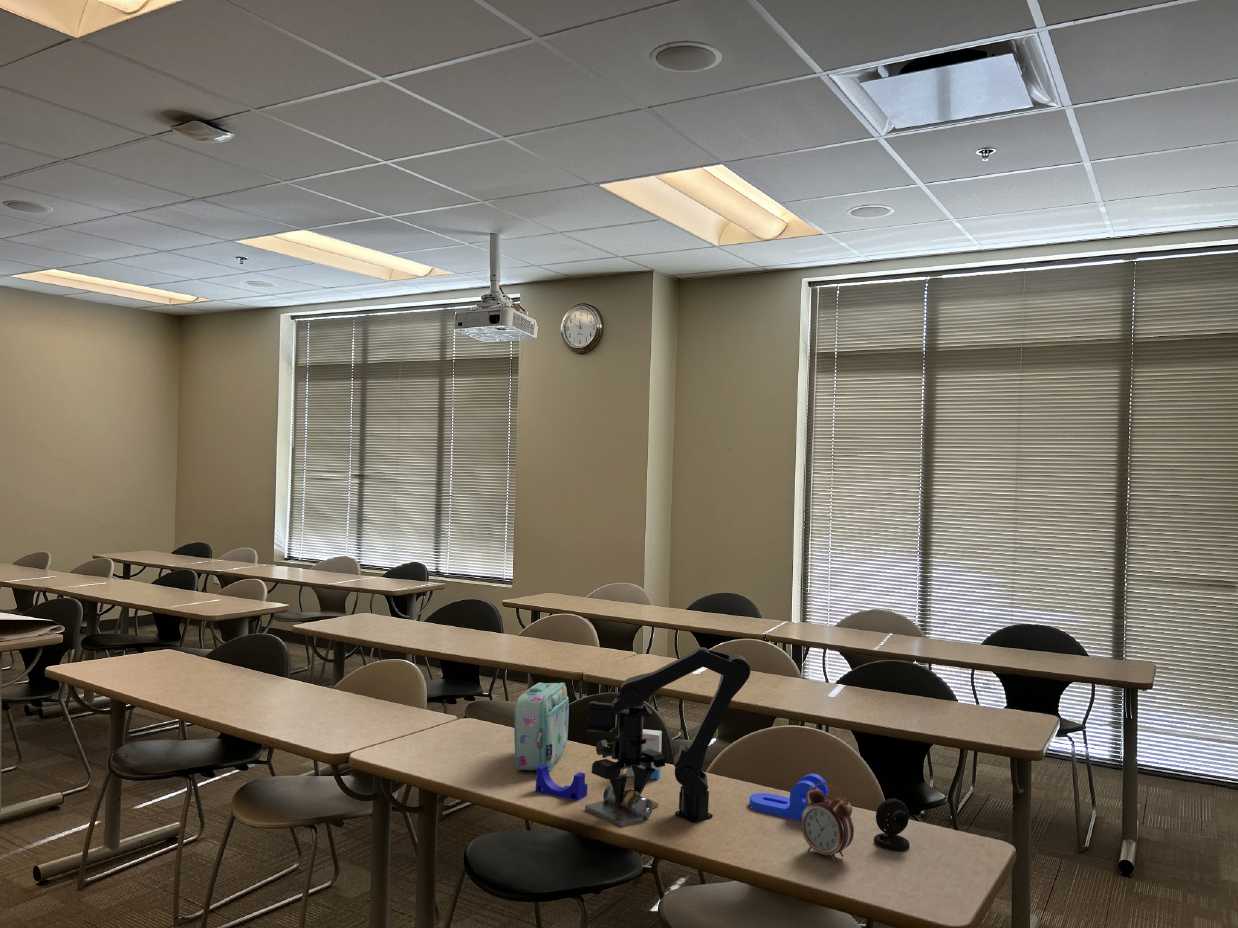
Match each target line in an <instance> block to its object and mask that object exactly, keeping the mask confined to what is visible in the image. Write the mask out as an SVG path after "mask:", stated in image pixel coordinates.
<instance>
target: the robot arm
mask: <svg viewBox="0 0 1238 928" xmlns="http://www.w3.org/2000/svg"><path fill="white" fill-rule="evenodd" d="M702 668H704V669H708V670H710V671H713V672H714V673H717V674H719V675H720V677H719V680H718V681H719V682H718V686H717V689H716V691H715V693H714V695H713V697H712V699H711V701H710V703H709V705H708V707H707V709H706V712H705V713H704V715H703V717H702V719H701V721H700V723H699V725H698V728H697V729H696V732H694V733H695V734H694V735H693V737H692V738H691V740H690V742H688V744H687V745H685V744H684V743H683V742H681V743H680V747H679V750H678V752H677V754H676V755H675V756H674V757H673V766H674V778H675V781H677V782H678V784H680V785H681V786H680V791H679V797H678V799H679V800H678V810H676V811H675V812H674V815H676V816H679V817H681V818H683V819H686V820H687V821H690V822H691V823H696V822H699V821H700V822H701V821H703V820H707V819H709V818H710V819H711V818H713V813H711V812H709V800H710V798H709V797H710V796H709V795H710V791H709V790H708V789H709V785H708V784H709V783H708V775H707V774H706V773H705V772H704V771H703V770H702V769H703V766H704V761H705V757H706V752H707V750H708V747H710V744H711V743H712V740H713V738H714V736H715V734H716V732H717V730H718V728H719V725H720V724H721V721H722V720H723V718H724V716H725V714H726V712H727V709H728V707H729V705H730V703H731V701H732V699H733V698H734V697H735V695H737V693H738V692H739V691H741V689H742V688H743V686H744V685H745V684H746V682H747V681H748V679H749V678H750V676H751V667H750V664H749V661H748V660H747V659H746V657H744V656H743V655H742V654H739V653H733V654H726V653H723V652H720V651H716V650H713V649H712V650H711V649H708V648H706V647H704V646H701V647H698V648H696V649H695V650H694V651H692V652H690V653H687V654H686V655H683V656H682V657H680V658H678V659H676V660H674V661H672V662H670V663H668V664H666V665H664V666H662V667H660V668H657V669H656V670H654V671H651V672H647V673H642V674H637V675H635V676H632V677H629V678H627V679H625V680H624V681H623V683H622V684H621V687H620V691H619V694H618V695H617V696H616V697H615V698H614V699H613V701H612V702H598V701H596V700H595V701H594V700H593V701H590V702H589V705H588V706H589V709H588V715H587V718H586V731H587V732H595V733H596V732H597V733H610V734H611V733H612V731H613V730H614V729H616V728H617V718H618V732H617V733H618V735H616V736H614V737H613V741H612V742H608V741H607V740H606V739H602V740H598V741H596V744H595V745H596V746H595V750H596V754H597V755H598V756H602V759H599V760H596V761H593V762H592V763H591V764H592V766H591V774H592V775H594V776H597V777H600V778H602V779H605V780H609V782H610V785H612V787H613V791H614V794H615V797H616V801H617V803H619V804H620V803H621V802H622V799H623V794H624V789H625V787H626V784H627V780H628V776H625V775H624V770H625V769H626V770H627V768H631V767H632V770H633V772H634V777H633V790H635V791H637V792H639V793H640V795H641V794H642V793H643V791H644V789H645V786H646V785H647V783H648V781H649V780H650V779H649V778H650V777H651V775H652V773H653V772H655V771H656V769H654V768H652V765H651V763H652V762H653V765H654V766H655V767H656V768H659V767H661V768H663V767H666V757H665V755H664V753H663V752H661V753H660V752H657V751H654V750H652V749H648V750H644V751H642V744H646V739H644V738H643V729H644V717H648V718H650V717H651V716H652V710H651V709H650V708H649V707H648V706H647V704H646V703H644V702H646V700H648V699H649V698H650V697H651V696H652V695H653V694H655V693H656V692H657V691H658V690H660V689H661V688H663V687H666V686H667V685H669V684H671V683H673V682H676V681H677V680H679V679H681V678H683V677H685V676H687V675H689V674H692V673H693V672H695V671H698V670H699V669H702ZM642 703H644V704H643V705H641V704H642ZM640 705H641V706H640ZM608 757H610V758H611V759H612V760H610V759H607V758H608ZM613 760H617V761H613Z"/></svg>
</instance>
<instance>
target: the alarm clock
mask: <svg viewBox="0 0 1238 928" xmlns="http://www.w3.org/2000/svg"><path fill="white" fill-rule="evenodd" d="M818 785H827V786H828V787H830V788H833V789H834V790H836V791H837V792H838V794H839V796H840V797H836V798H835V799H832V798H831V796H829V795H828V796H825V794H824V793H823V791H822V790H819V789H816V788H817V786H818ZM810 789H811V790H809V791H808V793H807V794H806V796H805V799H806V804H810V803H812V804H810V805H809V806H807V807H806V808H805V810H804V811H803V813H802V816H801V821H800V829H801V833H802V836H803V838H804V840H805V842H806V843H807V844H808V846H809V847H808V848H807V850H806V851H807V852H808V853H810V851H811V850H813V851H815V852H816V853H818V854H820V855H823V856H831V857H832V859H833V862H834V863H837V862H838V861H837V860H836V855H837V854H840V856H841V857H842V858H843V857H844V854H843V851H844V850H845V849H847V848H848V847H849V846H850V845H851V844H852V841H853V839H854V834H855V833H854V832H855V831H854V830H855V829H854V828H855V827H854V822H853V820H852V817H851V816H852V813H853V807H852V804H851V802H850V801H849V799H848V798H844V796H843V794H842V791H841V789H840V788H838V787H836V786H835V785H833V784H830V783H828V782H826V783H817V784H816V785H815V787H814V788H813V787H812V786H810ZM824 798H825V799H824ZM822 799H823V800H822ZM813 802H814V803H813Z"/></svg>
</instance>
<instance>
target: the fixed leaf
mask: <svg viewBox="0 0 1238 928" xmlns="http://www.w3.org/2000/svg"><path fill="white" fill-rule="evenodd" d="M602 799H603V800H600V801H596V802H594V803H589V804H586V805H584V811H587V812H589V813H591V814H594V815H595V816H597V817H599V818H602V819H604V820H606V821H608V822H610V823H612V824H614V825H616V826H618V827H621V828H623V827H627V826H630V825H634V824H637V823H640V822H643V821H645V820H648V819H649V817H650V816H651V815H652V812H653V809H654V808H653V805H652V802H651V801H650V800H651V799H650V800H648V799H649V798H648V799H646V798H645V797H643V796H639V795H635V796H633V797H632V798H631V799H630V801H629V803H628V810H627V809H625V808H623V807H621V806H619V805H617V803H616V800H615V794H614V791H613V787H612V784H609V785H607V786H606V787H605V789H604V791H603V795H602Z"/></svg>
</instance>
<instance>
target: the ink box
mask: <svg viewBox="0 0 1238 928" xmlns="http://www.w3.org/2000/svg"><path fill="white" fill-rule="evenodd" d="M662 733H663V732H662V730H656V729H655V730H653V729H644V728H643V738H644V739H646V744H642V751H644V750H648V749H652V750H654V751H657V752H660V753H662V740H663V739H662V736H663V734H662ZM651 765H652V768H654V769H656V771H655V772H653V773H652V775H651V777H650V778H649V780H654V779H656V781H657V780H659V779H660V776H661V773H662V772H661V771H662V770H661V768H662V767H659V768H656V767H655V766H654V765H653V762H652V763H651ZM625 773H626V774H625V775H627V777H628V776H629V777H631V778H634V772H633V770H632V767H631V768H626V772H625ZM629 777H628V778H629Z"/></svg>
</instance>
